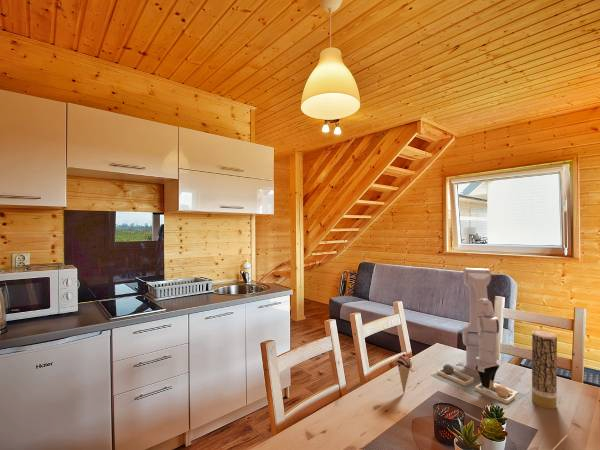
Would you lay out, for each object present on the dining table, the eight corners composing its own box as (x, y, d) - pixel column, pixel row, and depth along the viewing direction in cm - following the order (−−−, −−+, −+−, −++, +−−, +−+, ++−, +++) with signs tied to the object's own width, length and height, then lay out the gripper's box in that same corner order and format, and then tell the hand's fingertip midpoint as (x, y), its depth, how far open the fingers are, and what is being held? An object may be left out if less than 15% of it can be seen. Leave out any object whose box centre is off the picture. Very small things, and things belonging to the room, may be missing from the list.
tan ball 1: (483, 385, 120) (483, 374, 120) (495, 389, 117) (495, 378, 117) (479, 388, 118) (479, 378, 118) (491, 392, 115) (491, 382, 115)
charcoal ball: (446, 371, 133) (446, 361, 133) (455, 375, 130) (455, 365, 130) (441, 373, 131) (441, 364, 131) (450, 377, 128) (450, 367, 128)
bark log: (561, 411, 106) (561, 337, 105) (538, 409, 107) (538, 336, 107) (549, 400, 112) (549, 331, 112) (528, 398, 114) (528, 329, 113)
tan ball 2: (498, 392, 116) (498, 382, 116) (510, 397, 113) (510, 386, 113) (493, 396, 114) (493, 385, 114) (505, 401, 111) (505, 390, 111)
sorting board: (452, 366, 138) (452, 362, 138) (525, 395, 115) (525, 391, 115) (430, 376, 129) (430, 372, 129) (505, 410, 106) (505, 405, 106)
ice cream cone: (394, 395, 115) (394, 355, 115) (397, 388, 120) (397, 349, 120) (410, 399, 113) (410, 358, 113) (412, 391, 118) (413, 352, 118)
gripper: (483, 341, 125) (482, 374, 125) (468, 350, 116) (468, 387, 116) (503, 346, 120) (503, 381, 120) (490, 356, 110) (489, 395, 110)
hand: (487, 384), depth 118 cm, fingers closed on tan ball 1, 4 cm apart
